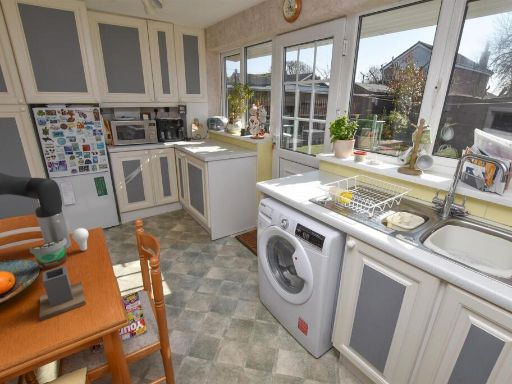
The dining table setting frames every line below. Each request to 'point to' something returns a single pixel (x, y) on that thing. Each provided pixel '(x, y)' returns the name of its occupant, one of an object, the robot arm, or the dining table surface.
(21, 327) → the dining table surface
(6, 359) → the dining table surface
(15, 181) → the robot arm
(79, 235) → the lightbulb
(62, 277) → the sleeve
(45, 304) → the post stand
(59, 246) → the food container
